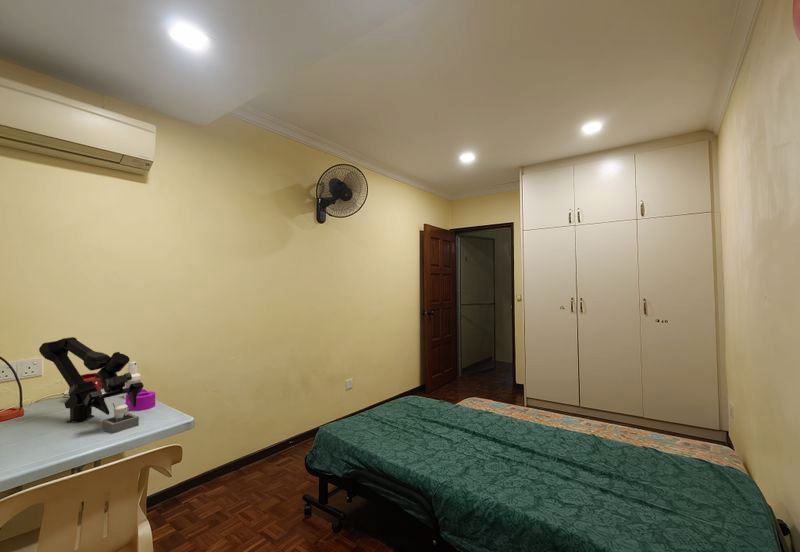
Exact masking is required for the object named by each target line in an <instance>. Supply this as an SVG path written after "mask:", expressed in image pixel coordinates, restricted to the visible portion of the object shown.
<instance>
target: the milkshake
mask: <svg viewBox="0 0 800 552" xmlns="http://www.w3.org/2000/svg"><path fill="white" fill-rule="evenodd" d="M112 406H113V414H114V416H113V417H114V418H115V423H117V422H120V421H123V420H126V417H127V413H128V408H129V407H128V406H127V405H126V403H122V404H118V405H115V403H114V402H112Z"/></svg>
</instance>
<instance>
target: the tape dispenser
mask: <svg viewBox="0 0 800 552" xmlns="http://www.w3.org/2000/svg"><path fill="white" fill-rule="evenodd" d="M125 404H126V405H127V406H128V408H129V411H130V412H142V411H147V410H151V409H153V408H154V407H156V391H152V390H151V391H148V390H146V389H144V388H142V390H141V392H140V393H139V394H138V395H137V399H136V407H135V408H134V407H133V405H132V403H131V401H130V399H129V395H128V393H127V394H126V399H125Z"/></svg>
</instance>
